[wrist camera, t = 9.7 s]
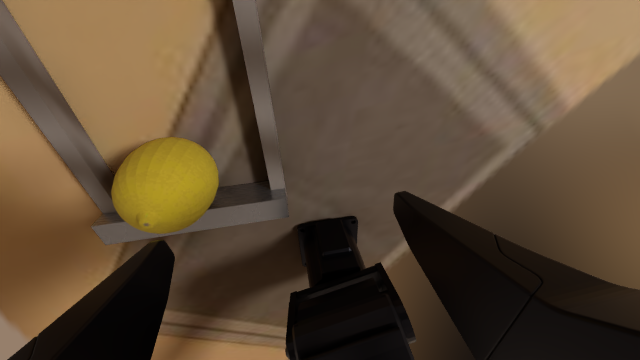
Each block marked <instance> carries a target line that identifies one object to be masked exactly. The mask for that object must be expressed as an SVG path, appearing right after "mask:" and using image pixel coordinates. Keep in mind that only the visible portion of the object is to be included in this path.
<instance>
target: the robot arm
mask: <svg viewBox="0 0 640 360" xmlns="http://www.w3.org/2000/svg"><path fill="white" fill-rule="evenodd" d="M393 211H394V214H395V217H396V219H397V221H398V223H399V226H400V228H401V230H402V232H403V235H404V237H405V239H406V241H407V243H408V245H409V247H410V249H411V251H412V253H413V254H414V256H415V258H416V259H417V261H418V263H419V265H420V266H421V268H422V270H423V271H424V273H425V275H426V276H427V278H428V279H429V281H430V283H431V285H432V287H433V288H434V290H435V291H436V293H437V295H438V297H439V298H440V300H441V302H442V304H443V305H444V307H445V309H446V310H447V312H448V314H449V315H450V317H451V319H452V321H453V322H454V324H455V326H456V327H457V329H458V331H459V333H460V334H461V336H462V338H463V339H464V341H465V343H466V344H467V346H468V348H469V350H470V351H471V353H472V355H473V356H474V358H475V360H640V290H638V289H632V288H628V287H624V286H620V285H616V284H613V283H610V282H607V281H605V280H602V279H599V278H597V277H594V276H592V275H589V274H587V273H584V272H582V271H580V270H577V269H575V268H572V267H570V266H567V265H565V264H563V263H560V262H558V261H555V260H553V259H550V258H547V257H545V256H543V255H541V254H538V253H536V252H534V251H531V250H529V249H527V248H524V247H522V246H520V245H518V244H515V243H513V242H511V241H509V240H507V239H505V238H503V237H501V236H499V235H496V234H495V235H494V234H493V233H492V232H490V231H488V230H486V229H484V228H482V227H480V226H477V225H475V224H473V223H471V222H469V221H467V220H465V219H463V218H461V217H458V216H457V215H455V214H452V213H450V212H448V211H446V210H444V209H442V208H440V207H438V206H436V205H434V204H432V203H429V202H427V201H425V200H423V199H421V198H419V197H417V196H415V195H413V194H411V193H409V192H406V191H402V192H397V193H395V195H394V205H393ZM353 220H354V221H353ZM297 229H298V236H299V243H300V250H301V257H302V264H303V266H305V267H307V273H308V280H309V286H310V288H307V289H304V290H302V291H299V292H297V291H295V292H293V293H291V294H290V302H289V310H288V322H287V333H286V349H285V352H286V356H287V357H288V358H289V359H290V360H414V357H413V355H412V352H411V349H410V347H409V344H410V343H413V342H416V338H415V334H414V331H413V328H412V325H411V323H410V320H409V318H408V315H407V313H406V310H405V308H404V306H403V304H402V302H401V299H400V297H399V296H398V294H397V292H396V290H395V288H394V286H393V285H392V283H391V281H390V279H389V277H388V275H387V273H386V271H385V270H384V268H383V266H382V264H381V262H380V263H377V264H375V265H374V266H372V267H369V268H365V265H364V263H363V260H362V257H361V255H360V252H359V250H358V247H357V229H358V220H357V218H356V217H355V216H351V217H345V218H338V219H332V220H326V221H319V222H313V223H307V224H301V225H299V226H298V228H297ZM174 261H175V256H174V253H173V252H172V250H171V249H170V247H169V246H168V245H167V243H166V242H165V241H164V240H156V241H152V242H150V243H148V244H147V245H146V246H145V247H143V248H142V249H141V250H140V251H139V252H137V253H136V254H135V255H134V256H132V257H131V258H130V259H129V260H128V261H126V262H125V263H124V264H123V265H122V266H120V267H119V268H118V269H117V270H116V271H114V272H113V273H112V274H111V275H110V276H108V277H107V278H106V279H105V280H103V281H102V282H101V283H100V284H99V285H97V286H96V287H95V288H94V289H93V290H91V291H90V292H89V293H88V294H87V295H85V296H84V297H83V298H82V299H80V300H79V301H78V302H77V303H76V304H74V305H73V306H72V307H71V308H70V309H68V310H67V311H66V312H65V313H64V314H62V315H61V316H60V317H59V318H57V319H56V320H55V321H54V322H53V323H51V324H50V325H49V326H48V327H47V328H45V329H44V330H43V331H42V332H41V333H39V335H38V336H36V337H34V338H33V339H32V340H31V341H30V342H28V343H27V344H26V345H25V346H24V347H22V348H21V349H20V350H19V351H18V352H16V353H15V354H14V355H13V356H11V357H10V358H9V359H8V360H151V357H152V353H153V350H154V346H155V343H156V339H157V336H158V332H159V329H160V325H161V322H162V318H163V315H164V311H165V308H166V304H167V300H168V296H169V290H170V285H171V279H172V273H173V267H174Z"/></svg>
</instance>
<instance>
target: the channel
mask: <svg viewBox="0 0 640 360" xmlns="http://www.w3.org/2000/svg"><path fill="white" fill-rule="evenodd" d="M232 1H233V6H234V11H235V15H236V20H237V25H238V30H239V35H240V40H241V45H242V50H243V55H244V60H245V65H246V70H247V74H248V79H249V84H250V89H251V94H252V99H253V104H254V109H255V114H256V119H257V124H258V128H259V133H260V138H261V143H262V148H263V153H264V158H265V163H266V168H267V173H268V178H269V181H264V182H257V183H249V184H242V185H234V186H227V187H219V188H217V192H216V195H215V198H214V200H213V202H212V203H211V205H210V206H209V208H208V209H207V211H206V212H205V213H204V215H203V216H202V217H201V218H200V219H198V220H197V221H196V222H195V223H193V224H192V225H191V226H189V227H187V228H184V229H182V230H180V231H176V232H172V233H165V234H156V233H148V232H144V231H141V230H139V229H136V228H134V227H132V226H131V225H129V224H128V223H127V222H125V221H124V220H123V219H122V218H121V217H120V216H119V214H118V213H117V211H116V209H115V207H114V205H113V201H112V195H111V191H112V186H113V181H114V178H115V177H114V176H113V174H112V172H111V171H110V169H109V168H108V166H107V165H106V163H105V161H104V160H103V158H102V157H101V155H100V154H99V152H98V150H97V149H96V147H95V146H94V144H93V143H92V141H91V139H90V138H89V136H88V135H87V133H86V132H85V130H84V128H83V127H82V125H81V124H80V122H79V121H78V119H77V117H76V116H75V114H74V113H73V111H72V110H71V108H70V106H69V105H68V103H67V102H66V100H65V98H64V97H63V95H62V94H61V92H60V91H59V89H58V87H57V86H56V84H55V83H54V81H53V80H52V78H51V76H50V75H49V73H48V72H47V70H46V69H45V67H44V65H43V64H42V62H41V61H40V59H39V58H38V56H37V54H36V53H35V51H34V50H33V48H32V47H31V45H30V43H29V42H28V40H27V39H26V37H25V36H24V34H23V32H22V31H21V29H20V28H19V26H18V25H17V23H16V21H15V20H14V18H13V17H12V15H11V13H10V12H9V10H8V9H7V7H6V6H5V4H4V2H3V1H2V0H0V76H1V77H2V78H3V80H4V81H5V82H6V84H7V85H8V86H9V88H10V89H11V90H12V92H13V93H14V94H15V96H16V97H17V98H18V100H19V101H20V103H21V104H22V105H23V107H24V108H25V109H26V111H27V112H28V113H29V115H30V116H31V117H32V119H33V120H34V121H35V123H36V124H37V125H38V127H39V128H40V129H41V131H42V132H43V133H44V135H45V136H46V138H47V139H48V140H49V142H50V143H51V144H52V146H53V147H54V148H55V150H56V151H57V152H58V154H59V155H60V156H61V158H62V159H63V160H64V162H65V163H66V164H67V166H68V167H69V168H70V170H71V171H72V172H73V174H74V175H75V177H76V178H77V179H78V181H79V182H80V183H81V185H82V186H83V187H84V189H85V190H86V191H87V193H88V194H89V195H90V197H91V198H92V199H93V201H94V202H95V203H96V205H97V206H98V207H99V209H100V210H101V212H102V213H103V214H102V215H101V216H100V217H99V218H98V219H97V220H96V221H95V223H94V224H93V225H92V226H91V228H92V229H93V230H94V231H95V232H96V234H97V235H98V236H99V237H100V239H101V240H102V241H103V242H104V244H105V245H109V244H116V243H122V242H129V241H135V240H142V239H149V238H155V237H162V236H168V235H175V234H181V233H188V232H194V231H201V230H207V229H214V228H220V227H227V226H233V225H240V224H246V223H253V222H259V221H266V220H272V219H279V218H286V217H289V212H288V201H287V193H286V186H285V180H284V174H283V168H282V161H281V155H280V149H279V143H278V136H277V130H276V124H275V118H274V111H273V105H272V99H271V93H270V86H269V80H268V74H267V68H266V61H265V55H264V49H263V43H262V36H261V30H260V24H259V17H258V11H257V5H256V0H232Z"/></svg>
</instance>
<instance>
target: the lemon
mask: <svg viewBox="0 0 640 360" xmlns="http://www.w3.org/2000/svg"><path fill="white" fill-rule="evenodd" d="M218 183H219V179H218V169H217V167H216V164H215V161H214V160H213V158H212V157H211V155H210V154H209V153H208V152H207V151H206V150H205V149H204V148H203V147H201V146H200V145H198V144H196V143H195V142H192V141H189V140H187V139H184V138H176V137H168V138H159V139H156V140H153V141H150V142H147V143H145V144H143V145H141V146H140V147H138V148H137V149H136V150H134V151H133V152H132V153H130V154H129V155H128V156H127V157H126V159H125V160H124V162H123V163H122V165H121V166H120V167H119V169H118V171H117V172H116V175H115V178H114V181H113V186H112V191H111V195H112V201H113V205H114V207H115V209H116V211H117V213H118V214H119V216H120V217H121V218H122V219H123V220H124V221H125V222H127V223H128V224H129V225H131V226H132V227H134V228H136V229H139V230H141V231H144V232H148V233H156V234H165V233H172V232H176V231H180V230H182V229H184V228H187V227H189V226H191V225H192V224H193V223H195V222H196V221H197V220H198V219H200V218H201V217H202V216H203V215H204V213H205V212H206V211H207V209H208V208H209V206H210V205H211V203H212V202H213V200H214V198H215V195H216V192H217V188H218Z"/></svg>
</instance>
